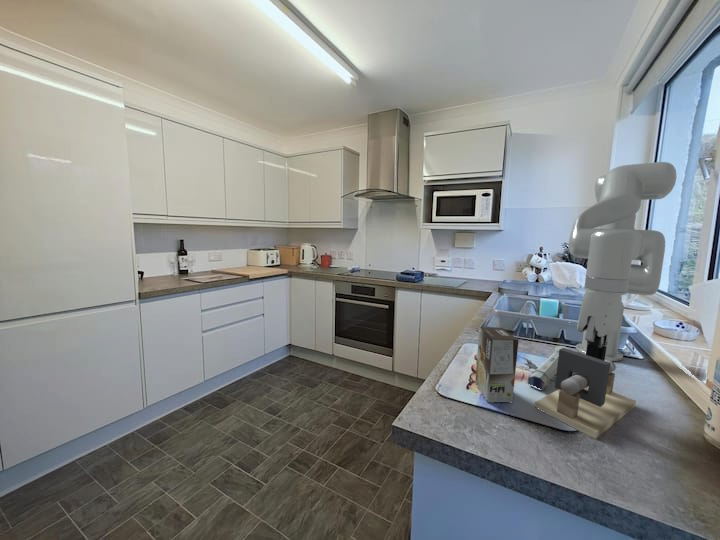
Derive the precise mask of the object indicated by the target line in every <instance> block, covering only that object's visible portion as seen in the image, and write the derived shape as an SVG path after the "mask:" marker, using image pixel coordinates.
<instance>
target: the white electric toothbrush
mask: <svg viewBox="0 0 720 540" xmlns="http://www.w3.org/2000/svg"><path fill="white" fill-rule="evenodd" d="M562 348H566V349H569V347H567V346H565V345H556V347H555V348H554V352H552V353H551V355H550V357H548V358H547V359H546V360H545V361H544V362H543V363H542V364H540V366H539V367H538V368H536V369H535V370H533V371H531V372H530V373H531V374H530V375H529V377H528V378H527V384H528V385H529V384H530V385H533V386H536V387H537V388H540V389H542V390H541V391H543V390H544V389H545V388H546V386H549V385H550V381H551V380H552V378H553V376H554V375H556V373H557V365H558V357H559V349H562Z"/></svg>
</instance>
